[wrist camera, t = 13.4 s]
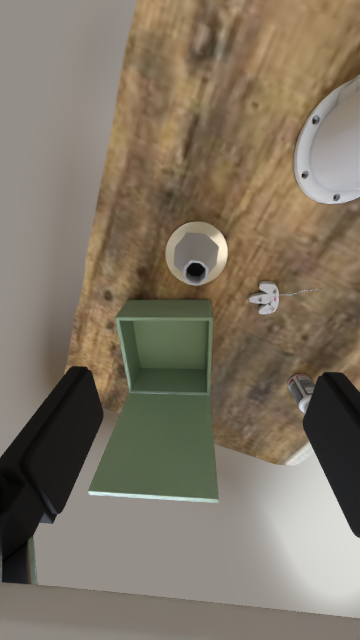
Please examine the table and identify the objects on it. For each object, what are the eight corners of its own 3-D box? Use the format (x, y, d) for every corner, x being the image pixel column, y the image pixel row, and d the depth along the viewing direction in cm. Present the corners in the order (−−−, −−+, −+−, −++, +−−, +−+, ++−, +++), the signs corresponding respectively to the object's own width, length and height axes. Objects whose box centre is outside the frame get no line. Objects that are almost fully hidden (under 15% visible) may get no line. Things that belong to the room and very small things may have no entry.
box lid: (87, 491, 25) (88, 494, 26) (218, 499, 24) (218, 503, 25) (128, 392, 41) (129, 395, 41) (210, 395, 40) (209, 398, 40)
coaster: (163, 222, 34) (163, 222, 33) (229, 220, 33) (230, 220, 32) (167, 284, 38) (167, 285, 38) (225, 283, 38) (225, 284, 37)
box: (127, 299, 40) (115, 317, 34) (210, 299, 39) (213, 317, 33) (138, 368, 48) (129, 392, 42) (208, 369, 47) (209, 395, 40)
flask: (167, 267, 36) (157, 287, 27) (183, 223, 33) (179, 231, 24) (206, 284, 37) (209, 309, 28) (226, 243, 34) (237, 257, 25)
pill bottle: (294, 393, 48) (312, 427, 41) (282, 380, 47) (299, 414, 39) (315, 382, 46) (337, 416, 39) (303, 369, 45) (324, 402, 38)
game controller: (243, 287, 38) (246, 293, 35) (313, 257, 35) (321, 260, 32) (254, 314, 40) (257, 321, 38) (320, 287, 37) (329, 293, 34)
